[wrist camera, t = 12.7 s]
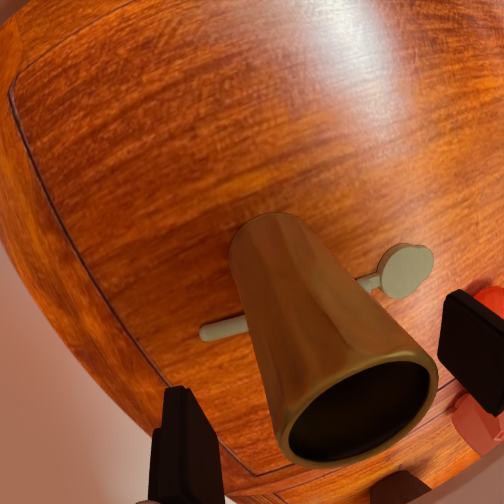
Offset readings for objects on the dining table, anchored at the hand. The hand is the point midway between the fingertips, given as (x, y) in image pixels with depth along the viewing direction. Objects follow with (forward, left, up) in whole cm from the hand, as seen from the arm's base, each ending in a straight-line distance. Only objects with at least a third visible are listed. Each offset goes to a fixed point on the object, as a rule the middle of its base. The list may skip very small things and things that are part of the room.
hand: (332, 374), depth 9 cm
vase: (0, 0, -12) cm, 12 cm away
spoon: (+3, -4, -12) cm, 13 cm away
